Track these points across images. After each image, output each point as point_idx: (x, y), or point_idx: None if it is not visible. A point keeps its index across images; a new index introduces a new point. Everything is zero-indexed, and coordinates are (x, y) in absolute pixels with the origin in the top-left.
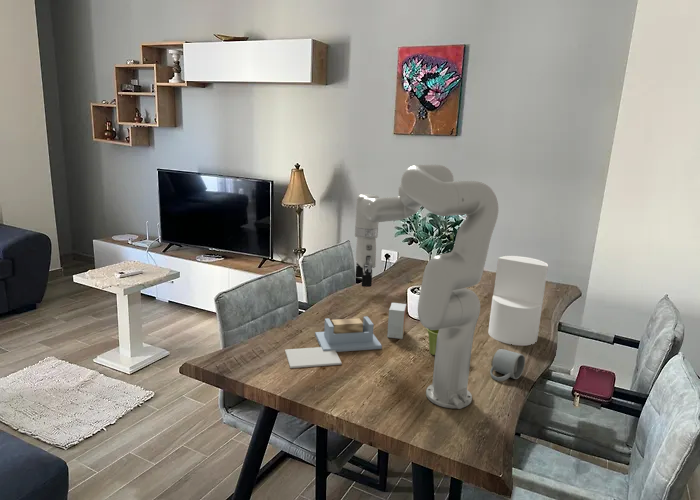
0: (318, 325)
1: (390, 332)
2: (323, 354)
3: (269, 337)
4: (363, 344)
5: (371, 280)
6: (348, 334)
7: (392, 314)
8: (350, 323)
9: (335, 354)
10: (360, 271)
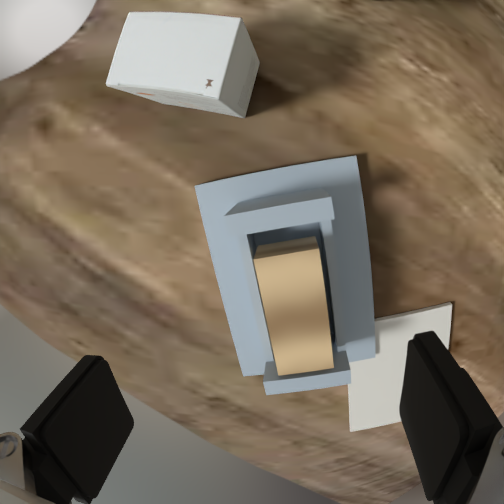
0: (164, 353)
1: (245, 104)
2: (396, 352)
3: (265, 454)
4: (348, 226)
5: (459, 372)
6: (340, 296)
7: (231, 84)
8: (321, 306)
9: (402, 321)
10: (96, 437)
